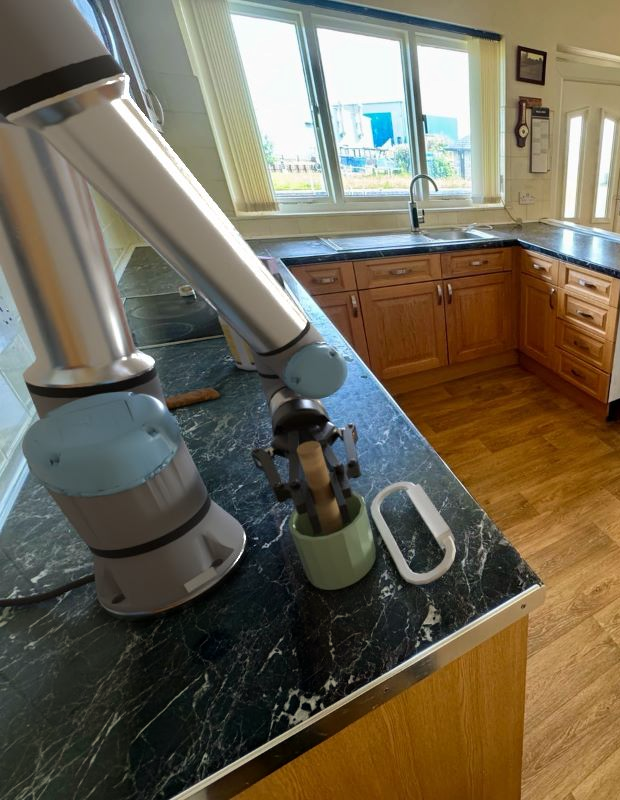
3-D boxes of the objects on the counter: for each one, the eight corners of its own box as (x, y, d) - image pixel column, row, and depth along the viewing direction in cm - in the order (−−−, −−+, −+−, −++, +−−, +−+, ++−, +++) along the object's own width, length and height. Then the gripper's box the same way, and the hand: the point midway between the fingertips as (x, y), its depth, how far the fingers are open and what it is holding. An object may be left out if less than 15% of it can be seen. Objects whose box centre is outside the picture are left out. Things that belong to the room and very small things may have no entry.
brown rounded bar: (212, 389, 97) (206, 375, 95) (222, 396, 94) (216, 382, 92) (101, 425, 84) (92, 410, 82) (109, 435, 81) (100, 419, 79)
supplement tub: (298, 352, 116) (281, 291, 107) (275, 372, 105) (255, 305, 97) (252, 352, 115) (231, 290, 107) (225, 371, 105) (200, 305, 96)
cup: (312, 601, 52) (293, 551, 48) (302, 553, 58) (285, 504, 54) (383, 570, 56) (372, 521, 52) (366, 528, 62) (355, 481, 58)
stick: (330, 555, 54) (298, 456, 46) (327, 543, 56) (295, 444, 48) (350, 547, 55) (321, 449, 47) (346, 535, 57) (318, 438, 49)
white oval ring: (369, 508, 68) (359, 493, 65) (415, 481, 71) (407, 465, 68) (416, 603, 54) (405, 588, 51) (471, 564, 57) (463, 548, 54)
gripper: (358, 426, 69) (404, 517, 52) (248, 456, 62) (261, 573, 45) (349, 385, 66) (395, 469, 49) (231, 413, 58) (237, 522, 41)
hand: (330, 519), depth 47 cm, fingers closed on stick, 2 cm apart
